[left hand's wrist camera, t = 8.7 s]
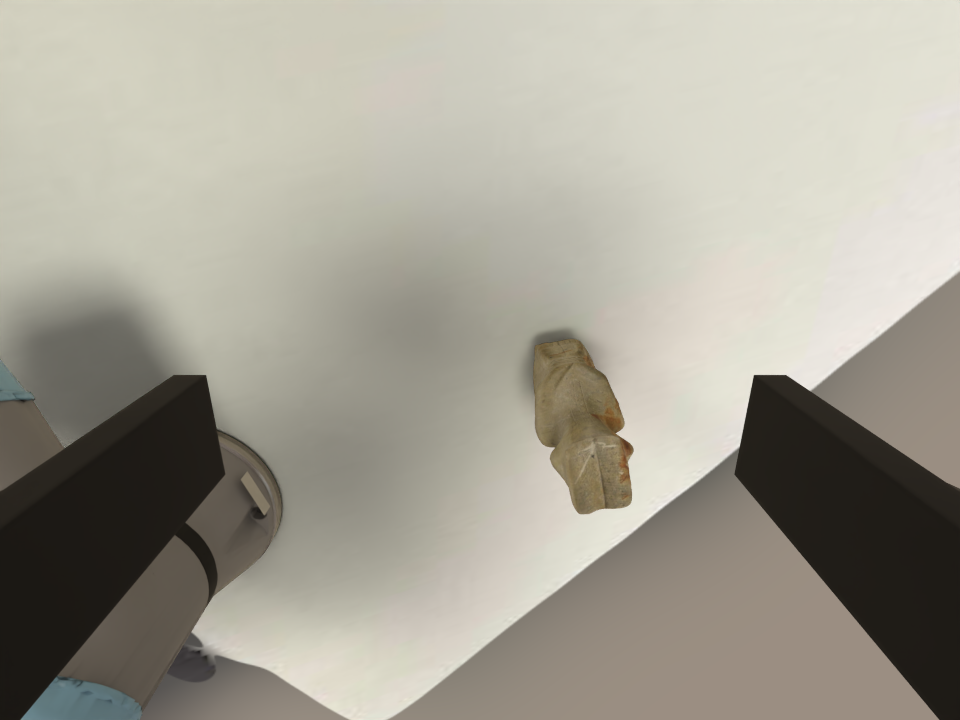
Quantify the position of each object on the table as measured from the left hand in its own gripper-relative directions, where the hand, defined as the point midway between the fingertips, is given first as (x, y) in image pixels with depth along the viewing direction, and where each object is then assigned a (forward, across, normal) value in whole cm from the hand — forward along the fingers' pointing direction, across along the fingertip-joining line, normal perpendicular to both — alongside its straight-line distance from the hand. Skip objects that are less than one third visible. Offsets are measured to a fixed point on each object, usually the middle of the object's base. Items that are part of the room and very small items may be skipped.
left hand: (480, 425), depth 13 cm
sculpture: (+29, -7, +10) cm, 31 cm away
